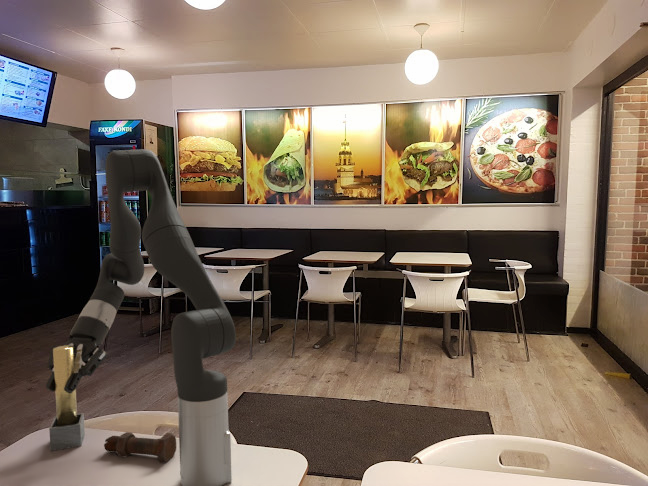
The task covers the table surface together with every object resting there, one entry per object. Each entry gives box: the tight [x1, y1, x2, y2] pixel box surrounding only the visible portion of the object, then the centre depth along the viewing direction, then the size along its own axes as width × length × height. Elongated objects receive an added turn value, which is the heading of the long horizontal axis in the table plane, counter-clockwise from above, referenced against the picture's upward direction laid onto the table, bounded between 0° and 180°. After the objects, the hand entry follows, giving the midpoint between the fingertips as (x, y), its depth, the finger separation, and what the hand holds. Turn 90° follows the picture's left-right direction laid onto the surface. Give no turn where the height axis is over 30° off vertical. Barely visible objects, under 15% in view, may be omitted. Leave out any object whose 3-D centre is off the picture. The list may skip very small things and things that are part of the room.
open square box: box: [48, 412, 86, 452], centre depth 108 cm, size 6×6×5 cm
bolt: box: [103, 431, 177, 464], centre depth 102 cm, size 6×5×15 cm
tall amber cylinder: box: [53, 345, 78, 427], centre depth 108 cm, size 4×4×18 cm
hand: (58, 390), depth 106 cm, fingers closed on tall amber cylinder, 4 cm apart
